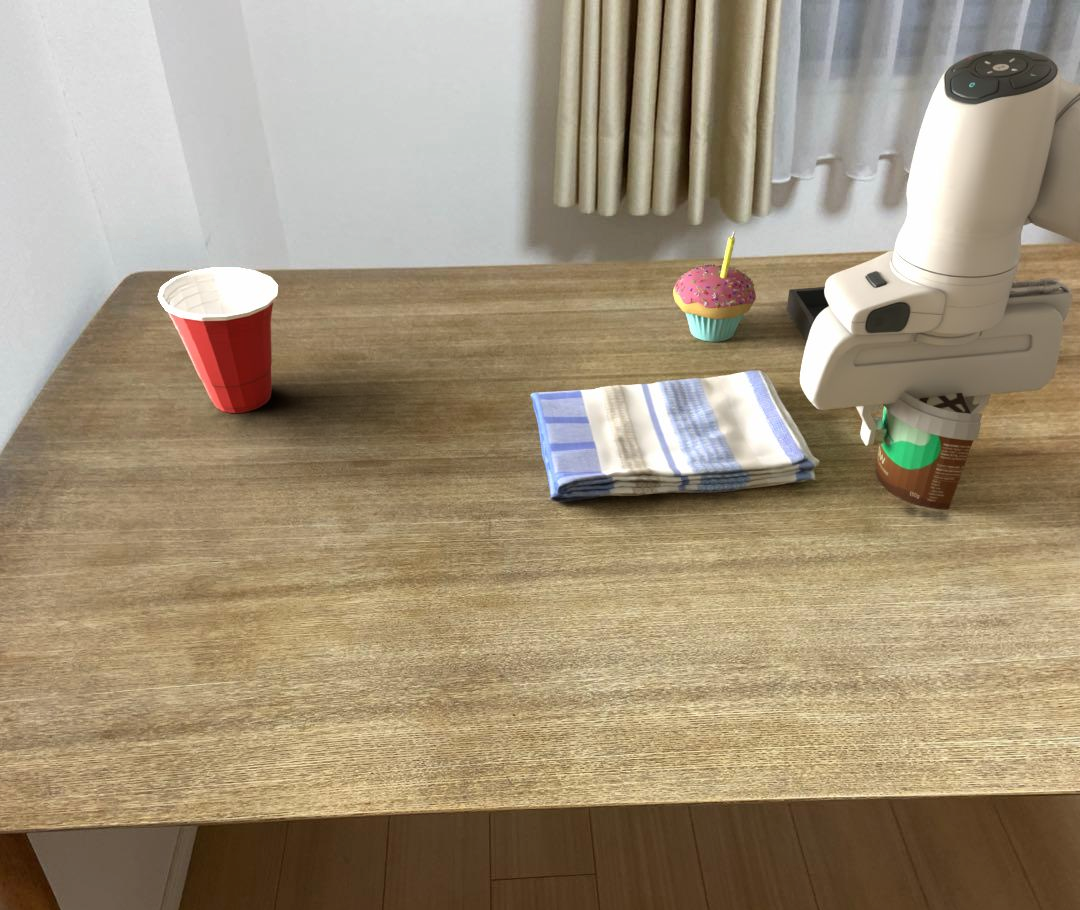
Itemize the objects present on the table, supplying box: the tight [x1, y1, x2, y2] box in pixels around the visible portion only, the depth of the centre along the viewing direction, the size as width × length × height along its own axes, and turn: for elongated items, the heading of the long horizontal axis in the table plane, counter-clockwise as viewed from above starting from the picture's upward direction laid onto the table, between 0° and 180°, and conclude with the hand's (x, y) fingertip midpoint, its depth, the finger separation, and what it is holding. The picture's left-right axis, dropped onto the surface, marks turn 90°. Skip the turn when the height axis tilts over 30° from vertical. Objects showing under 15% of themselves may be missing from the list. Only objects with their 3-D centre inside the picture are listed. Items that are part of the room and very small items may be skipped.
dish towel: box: [530, 369, 821, 503], centre depth 93 cm, size 17×24×3 cm
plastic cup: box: [157, 266, 279, 414], centre depth 98 cm, size 11×11×12 cm
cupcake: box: [672, 230, 757, 343], centre depth 106 cm, size 9×8×12 cm
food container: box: [875, 391, 983, 510], centre depth 86 cm, size 12×6×10 cm, turn 178°
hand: (911, 437), depth 87 cm, fingers closed on food container, 6 cm apart
